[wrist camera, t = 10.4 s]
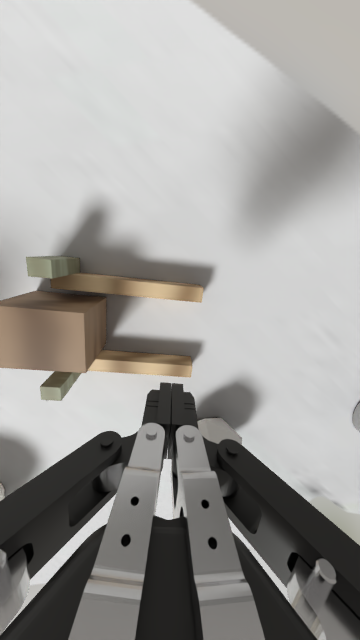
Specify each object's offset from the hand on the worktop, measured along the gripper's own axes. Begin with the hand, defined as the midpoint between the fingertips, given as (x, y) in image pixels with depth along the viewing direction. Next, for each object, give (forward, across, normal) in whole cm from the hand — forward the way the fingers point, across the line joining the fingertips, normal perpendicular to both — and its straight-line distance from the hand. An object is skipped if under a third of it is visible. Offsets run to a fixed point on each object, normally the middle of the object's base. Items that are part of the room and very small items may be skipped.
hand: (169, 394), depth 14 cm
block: (+13, +12, 0) cm, 18 cm away
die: (+14, -7, +16) cm, 22 cm away
